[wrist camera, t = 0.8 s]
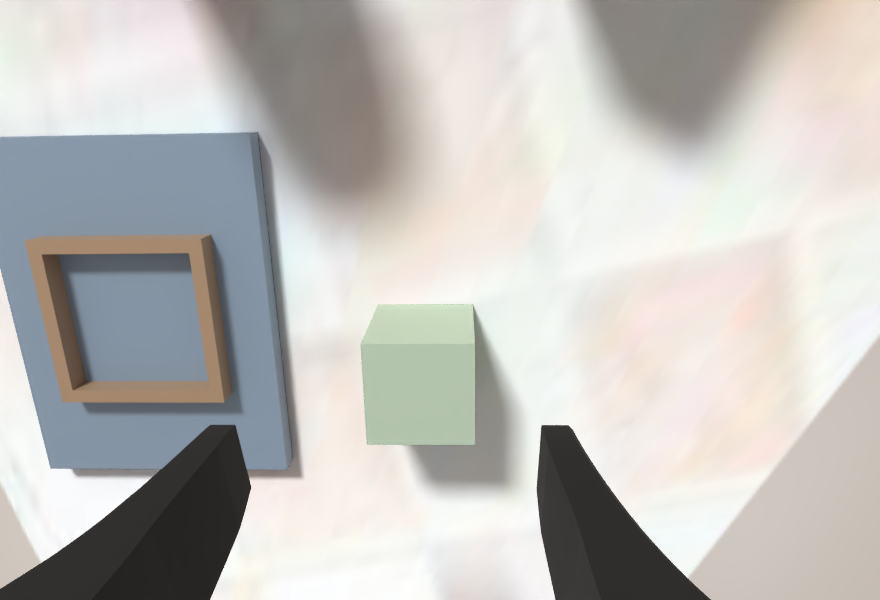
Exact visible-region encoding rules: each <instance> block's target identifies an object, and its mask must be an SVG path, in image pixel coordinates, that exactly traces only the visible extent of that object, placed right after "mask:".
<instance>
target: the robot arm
mask: <svg viewBox="0 0 880 600" xmlns="http://www.w3.org/2000/svg"><path fill="white" fill-rule="evenodd" d="M250 490H251V485H250V481H249V477H248V473H247V469H246V465H245V461H244V457H243V453H242V449H241V445H240V441H239V437H238V433H237V429H236V425H209V426H208V427H207V428H206V429H205V430H204V431H202V432H201V433H200V434H199V435H198V436H197V437H196V438H195V439H194V440H193V441H192V442H190V443H189V444H188V445H187V446H186V447H185V448H184V449H183V450H182V451H181V452H180V453H179V454H178V455H176V456H175V457H174V458H173V459H172V460H171V461H170V462H169V463H168V464H167V465H165V466H164V467H163V468H162V469H161V470H160V471H159V472H158V473H157V474H155V475H154V476H153V477H152V478H151V479H150V480H149V481H148V482H147V483H145V484H144V485H143V486H142V487H141V488H140V489H138V490H137V491H136V492H135V493H134V494H132V495H131V496H130V497H129V498H128V499H126V500H125V501H124V502H123V503H122V504H120V505H119V506H118V507H117V508H116V509H114V510H113V511H112V512H111V513H109V514H108V515H107V516H106V517H105V518H103V519H102V520H101V521H100V522H98V523H97V524H96V525H94V526H93V527H92V528H90V529H89V530H88V531H86V532H85V533H84V534H82V535H81V536H80V537H78V538H77V539H76V540H74V541H73V542H71V543H70V544H69V545H67V546H66V547H64V548H63V549H61V550H60V551H59V552H57V553H56V554H54V555H53V556H51V557H50V558H48V559H47V560H45V561H44V562H42V563H41V564H39V565H37V566H36V567H34V568H33V569H31V570H30V571H28V572H26V573H25V574H23V575H22V576H20V577H19V578H17V579H15V580H14V581H12V582H11V583H9V584H7V585H6V586H4V587H3V588H1V589H0V600H210V598H211V596H212V594H213V591H214V589H215V587H216V584H217V582H218V580H219V577H220V575H221V572H222V570H223V568H224V565H225V563H226V561H227V558H228V556H229V554H230V551H231V549H232V546H233V544H234V542H235V539H236V537H237V534H238V532H239V529H240V526H241V523H242V519H243V516H244V512H245V509H246V505H247V501H248V498H249V494H250ZM537 497H538V508H539V517H540V526H541V534H542V538H543V543H544V548H545V553H546V557H547V562H548V567H549V571H550V576H551V581H552V585H553V590H554V594H555V599H556V600H711V599H709V598H708V597H707V596H706V595H705V594H704V593H703V592H702V591H700V590H699V589H698V588H697V587H696V586H695V585H694V584H693V583H692V582H691V581H690V580H689V579H688V578H687V577H686V576H685V575H684V574H683V573H682V572H681V571H680V570H679V569H678V568H677V567H676V566H675V565H674V564H673V563H672V562H671V561H670V560H669V559H668V558H667V557H666V556H665V555H664V554H663V553H662V552H661V551H660V549H659V548H658V547H657V546H656V545H655V544H654V543H653V542H652V541H651V539H650V538H649V537H648V536H647V535H646V534H645V533H644V531H643V530H642V529H641V528H640V527H639V525H638V524H637V523H636V522H635V520H634V519H633V518H632V517H631V516H630V514H629V513H628V512H627V511H626V509H625V508H624V507H623V505H622V504H621V503H620V502H619V500H618V499H617V497H616V496H615V495H614V493H613V492H612V491H611V489H610V488H609V486H608V485H607V484H606V482H605V481H604V480H603V478H602V477H601V475H600V474H599V472H598V471H597V469H596V468H595V466H594V465H593V463H592V462H591V460H590V458H589V457H588V455H587V454H586V452H585V451H584V449H583V447H582V446H581V444H580V442H579V440H578V439H577V437H576V435H575V433H574V431H573V430H572V429H571V428H570V427H569V426H568V425H542V427H541V440H540V453H539V466H538V479H537Z"/></svg>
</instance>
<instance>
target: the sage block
mask: <svg viewBox="0 0 880 600" xmlns="http://www.w3.org/2000/svg"><path fill="white" fill-rule="evenodd" d="M361 358H362V373H363V389H364V405H365V421H366V437H367V445H475V333H474V316H473V304H410V305H378V306H377V309H376V311H375V313H374V315H373V318H372V320H371V322H370V324H369V327H368V329H367V331H366V333H365V335H364V338H363V340H362V342H361Z"/></svg>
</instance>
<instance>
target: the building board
mask: <svg viewBox="0 0 880 600" xmlns="http://www.w3.org/2000/svg"><path fill="white" fill-rule="evenodd" d="M0 269H1V273H2V277H3V281H4V284H5V288H6V292H7V296H8V300H9V304H10V308H11V312H12V316H13V320H14V324H15V328H16V332H17V336H18V340H19V344H20V348H21V352H22V356H23V360H24V364H25V368H26V372H27V376H28V380H29V384H30V388H31V392H32V396H33V400H34V404H35V408H36V412H37V416H38V420H39V424H40V428H41V432H42V436H43V440H44V444H45V448H46V452H47V456H48V460H49V464H50V468H57V469H162V468H163V467H164V466H165V465H167V464H168V463H169V462H170V461H171V460H172V459H173V458H174V457H175V456H176V455H178V454H179V453H180V452H181V451H182V450H183V449H184V448H185V447H186V446H187V445H188V444H189V443H190V442H192V441H193V440H194V439H195V438H196V437H197V436H198V435H199V434H200V433H201V432H202V431H204V430H205V429H206V428H207V427H208V426H209V425H236V429H237V433H238V437H239V441H240V445H241V449H242V453H243V457H244V461H245V465H246V469H247V470H287V469H288V467H289V465H290V463H291V461H292V459H293V458H292V449H291V439H290V430H289V421H288V411H287V402H286V393H285V383H284V374H283V365H282V355H281V346H280V337H279V327H278V318H277V309H276V300H275V290H274V281H273V272H272V262H271V253H270V244H269V234H268V225H267V216H266V206H265V197H264V188H263V178H262V169H261V160H260V150H259V141H258V132H254V133H198V134H142V135H86V136H31V137H0Z"/></svg>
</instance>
